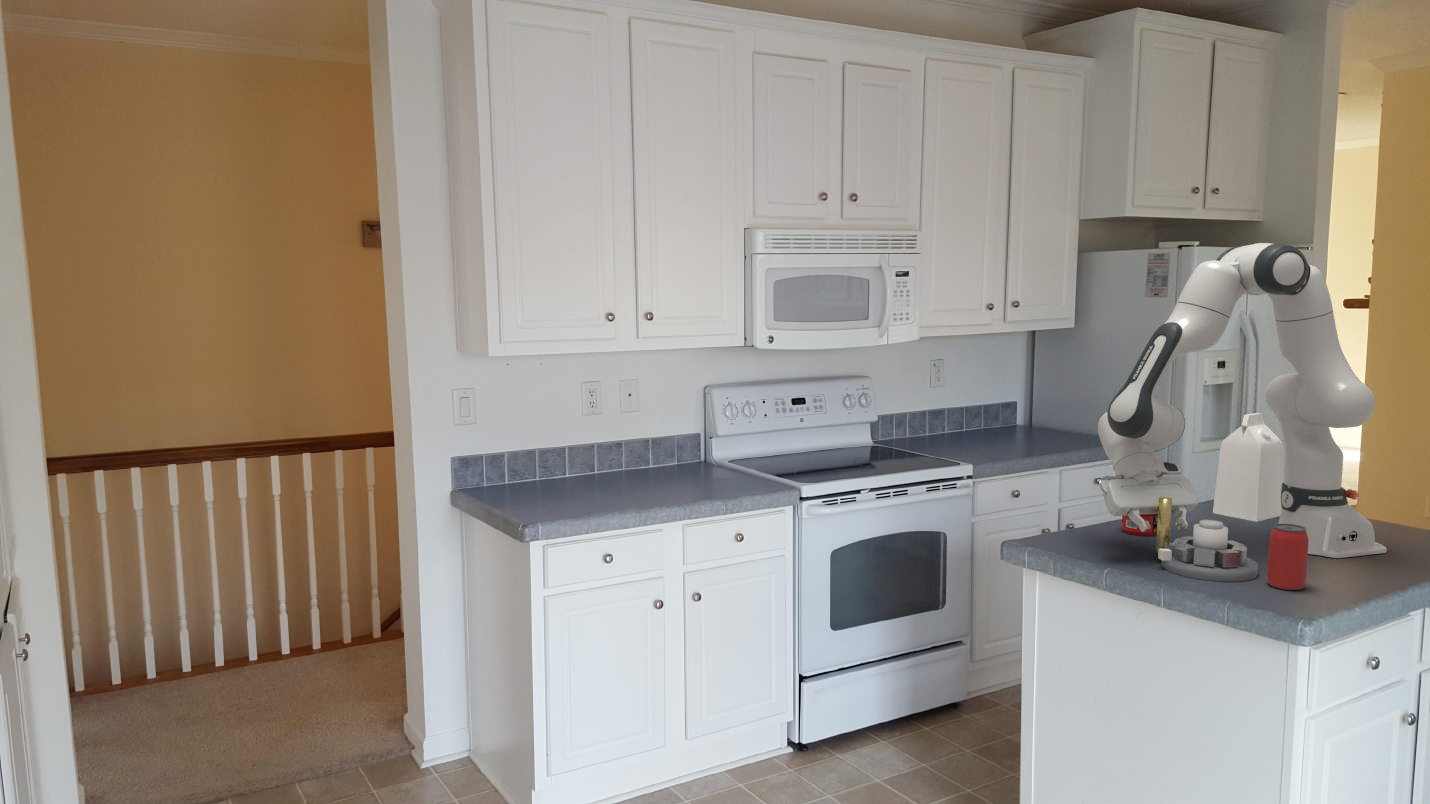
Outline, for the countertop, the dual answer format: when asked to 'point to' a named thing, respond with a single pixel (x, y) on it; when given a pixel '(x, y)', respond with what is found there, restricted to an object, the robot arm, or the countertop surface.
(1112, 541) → the countertop surface
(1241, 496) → the milk
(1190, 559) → the gear with peg
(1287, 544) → the beer can
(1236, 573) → the flange base
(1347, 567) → the countertop surface
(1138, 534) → the canned food
